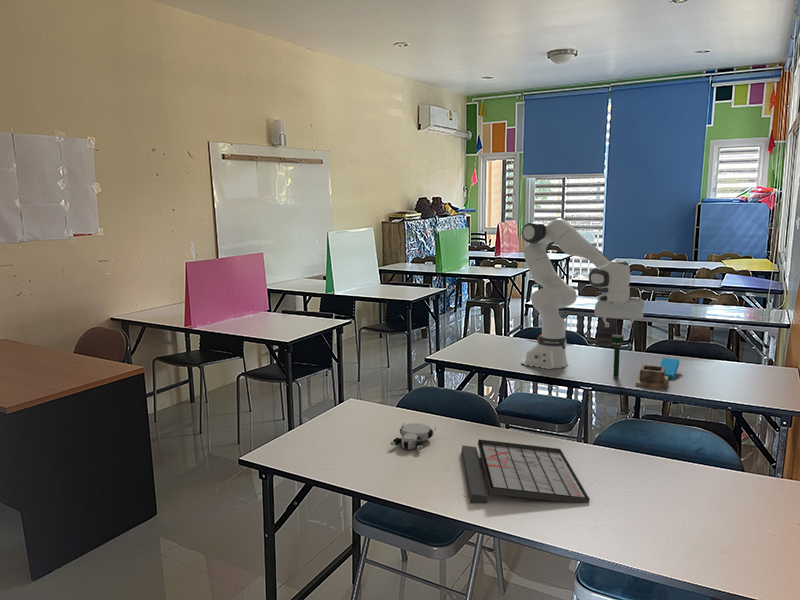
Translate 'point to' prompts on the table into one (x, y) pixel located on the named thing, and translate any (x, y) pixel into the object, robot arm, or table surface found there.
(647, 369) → the stand
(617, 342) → the flashlight
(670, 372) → the blue slanted block
